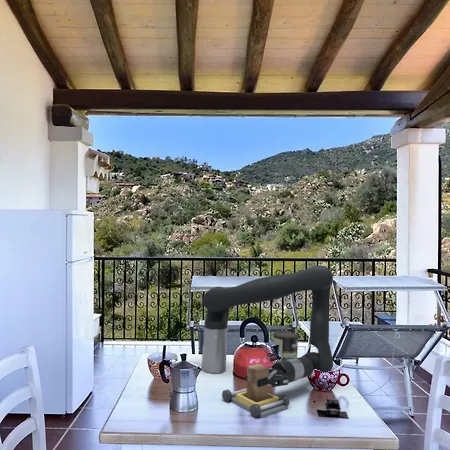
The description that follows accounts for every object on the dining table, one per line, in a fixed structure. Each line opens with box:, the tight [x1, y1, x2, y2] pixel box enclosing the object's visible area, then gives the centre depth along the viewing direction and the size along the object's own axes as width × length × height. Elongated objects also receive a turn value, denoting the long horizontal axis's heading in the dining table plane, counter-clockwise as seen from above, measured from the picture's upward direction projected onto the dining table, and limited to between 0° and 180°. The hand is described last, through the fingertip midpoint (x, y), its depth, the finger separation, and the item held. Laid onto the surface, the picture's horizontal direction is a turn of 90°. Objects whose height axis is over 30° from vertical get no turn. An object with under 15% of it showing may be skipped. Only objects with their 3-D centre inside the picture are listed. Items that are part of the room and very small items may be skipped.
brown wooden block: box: [246, 363, 270, 402], centre depth 143 cm, size 5×5×10 cm
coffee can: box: [272, 330, 299, 362], centre depth 181 cm, size 10×10×14 cm
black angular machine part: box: [316, 398, 349, 420], centre depth 138 cm, size 12×7×5 cm, turn 84°
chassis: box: [221, 387, 290, 419], centre depth 144 cm, size 18×14×4 cm
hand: (251, 380), depth 141 cm, fingers closed on brown wooden block, 5 cm apart
